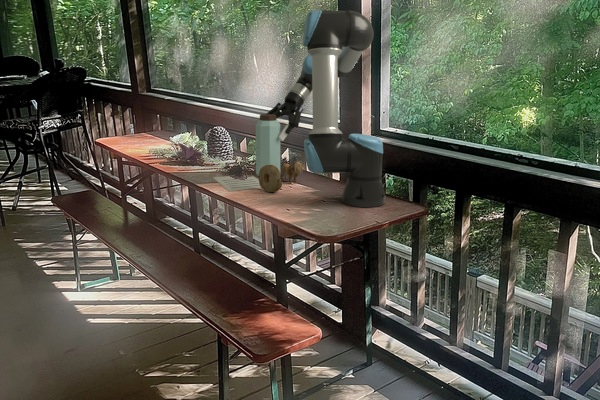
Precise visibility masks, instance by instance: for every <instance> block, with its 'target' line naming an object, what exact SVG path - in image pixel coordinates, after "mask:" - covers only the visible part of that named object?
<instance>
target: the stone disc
mask: <svg viewBox="0 0 600 400" xmlns="http://www.w3.org/2000/svg"><path fill="white" fill-rule="evenodd" d="M280 175H281V170H280V171H279V169H278V168H277V167H276V166H274V165H265V166H263V167H262V168H261V169H260V172H259V177H258V180H259V184H260V186H261V188H260V189H262V190H263V191H264V192H267V193H276V192H278V191H280V190H281V189H282V186H283V181H282V177H280Z"/></svg>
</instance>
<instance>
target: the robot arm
mask: <svg viewBox="0 0 600 400" xmlns="http://www.w3.org/2000/svg"><path fill="white" fill-rule="evenodd" d="M374 32H375V31H374V29H373V25H372V24H371V22H370V21H369V19H368V18H367V17H366V16H365V15H363V14H362V13H360V12H358V11H354V10H330V9H329V10H325V9H320V10H311V11H308V13H307V14H306V17H305V21H304V27H303V32H302V33H303V34H302V46H303V47H304V48H307V54H308V55H306V56H305V58H304V59H303V63H302V68H301V72H300V76H299V78H298V79H297V80H296V81H295V83H294V85H292V87H291V88H290V90H289V91H288V93H287V94H286V96H285V97H284V103H282V104H281V102H277V103H276V104H275V106H274V107H272V108H271V109H270V110H269V111H268V112H266V114H274V115H276V119H277V120H278V119H279V118H280V117H283V116H287V117H288V122H287V124H285V126H284V128H283V129H282V131H280V135H279V136H278V137H279V139H280V142H284V140H285V139H286V138H287V136H288V135H289V134H290V133H291V131H292V130H293V129H294V128H296V129H297V128H299V126H300V120H301V116H302V113H303V111H304V109H303V108H302V106H303V104H304V103H305V102H306V100H307V99H308V97H309V96H310V94H311V93H312V129H311V130H310V131H309V132H308V138H305V139H304V141H303V148H304V149H303V150H304V159H305V164H306V166H307V169H308V171H309V172H311V173H313V174H343V173H344V174H347V179H346V180H347V181H346V183H345V186H344V189H343V192H342V195H341V202H342V203H343V204H345V205H347V206H352V207H357V208H358V207H359V208H375V207H380V206H383V205H385V204H386V194H385V189H384V185H383V182H382V174H383V173H382V172H383V154H384V144H383V140H382V139H380V138H379V137H377V136H373V135H370V134H369V135H368V134H364V133H351V134H349V135H348V138H343V132H342V130H340V128H339V97H338V95H339V94H338V93H339V92H338V91H339V88H338V85H339V84H338V83H339V82H338V81H339V79H340V78H341V79H343V78H344V79H347V78H346V77H348V75H349V74H350V72H351V71H352V69H353V68H354V66H355V64H356V63H358V61H359V59H360V58H361V55H362V53H363V52H364V51H366V50H367V49H369V48H370V46H371V44H372V43H373V40H374V34H375V33H374ZM338 78H339V79H338Z"/></svg>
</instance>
